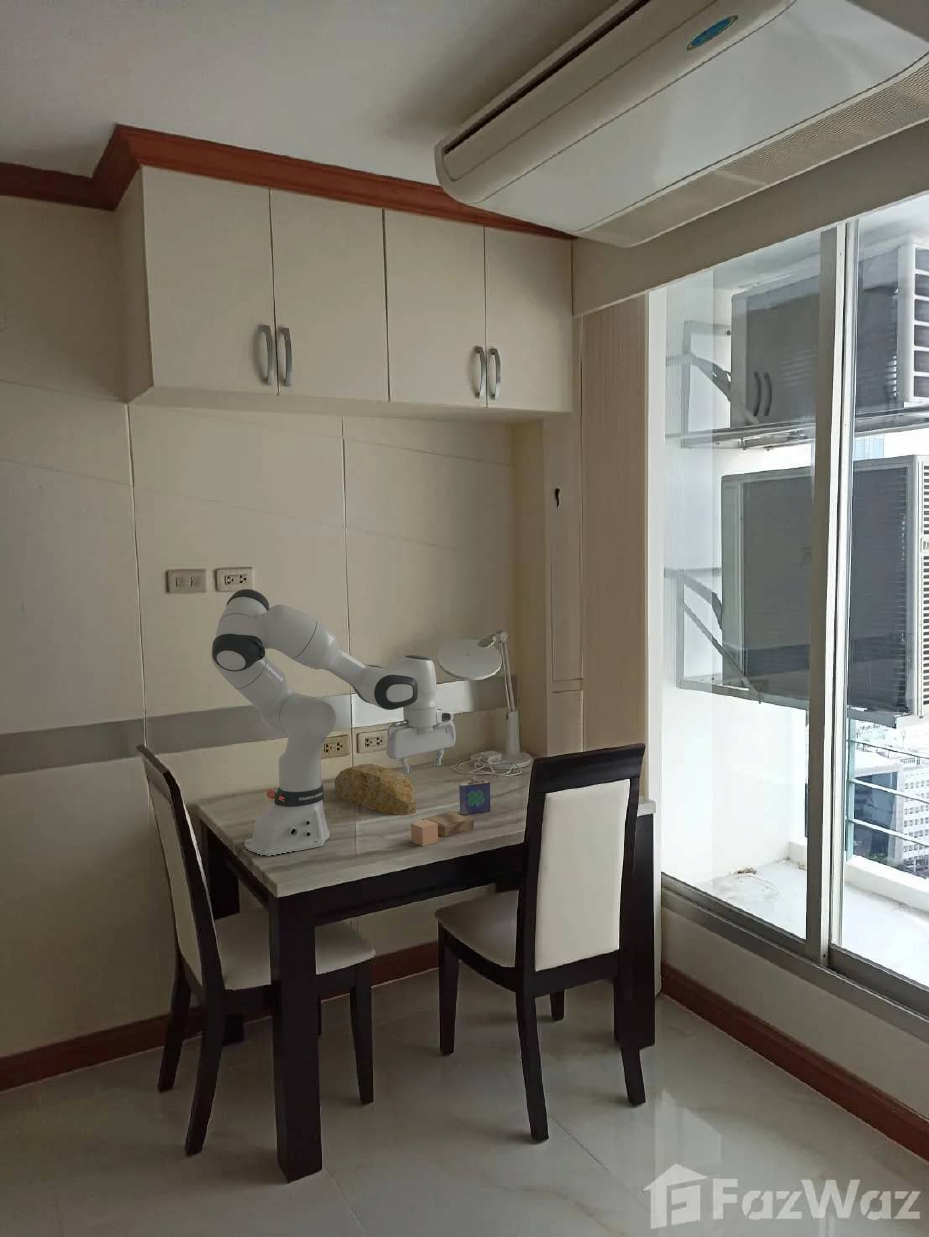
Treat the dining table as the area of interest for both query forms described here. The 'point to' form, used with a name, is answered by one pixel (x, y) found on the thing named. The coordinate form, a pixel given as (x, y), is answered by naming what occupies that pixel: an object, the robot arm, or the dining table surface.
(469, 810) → the flask
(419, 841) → the terracotta block
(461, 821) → the walnut plinth
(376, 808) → the bread
